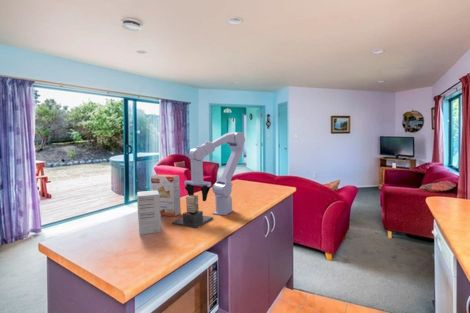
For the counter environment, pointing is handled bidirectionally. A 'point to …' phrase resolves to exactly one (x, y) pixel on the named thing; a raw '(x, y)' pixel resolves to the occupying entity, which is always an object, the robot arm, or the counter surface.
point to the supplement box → (149, 212)
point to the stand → (192, 219)
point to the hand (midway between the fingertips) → (198, 200)
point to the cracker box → (167, 193)
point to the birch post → (192, 203)
